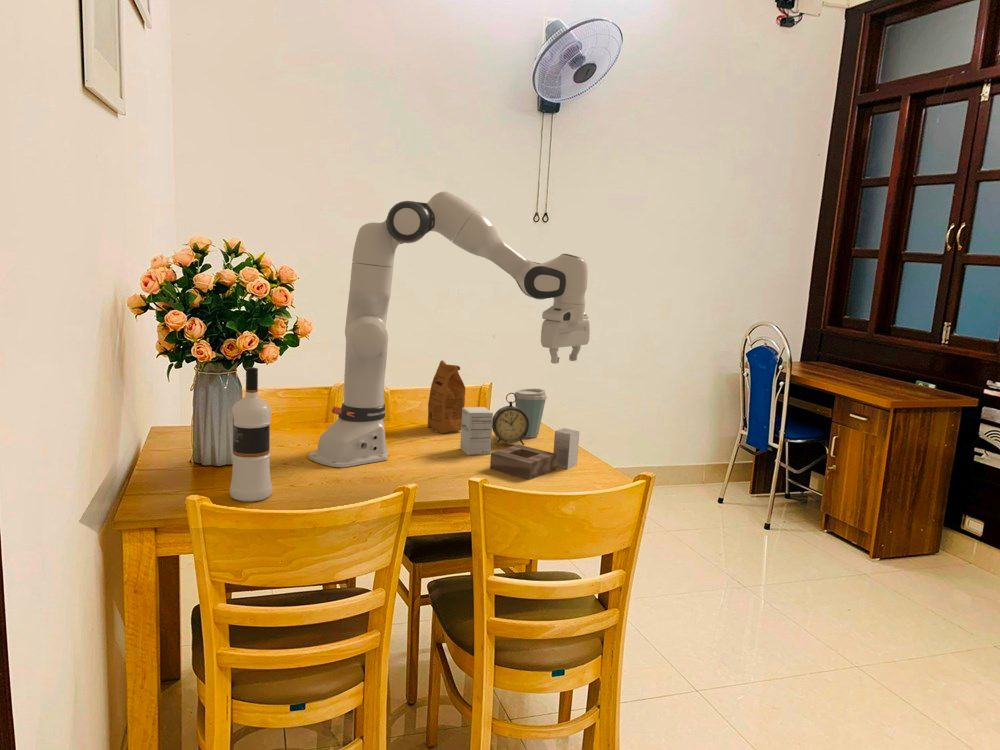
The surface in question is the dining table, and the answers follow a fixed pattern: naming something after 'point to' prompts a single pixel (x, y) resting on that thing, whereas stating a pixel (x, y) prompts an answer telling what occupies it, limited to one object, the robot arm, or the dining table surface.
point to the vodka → (251, 444)
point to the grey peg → (566, 447)
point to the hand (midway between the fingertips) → (563, 362)
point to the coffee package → (446, 399)
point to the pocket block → (523, 461)
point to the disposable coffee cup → (531, 408)
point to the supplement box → (476, 430)
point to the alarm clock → (510, 424)
